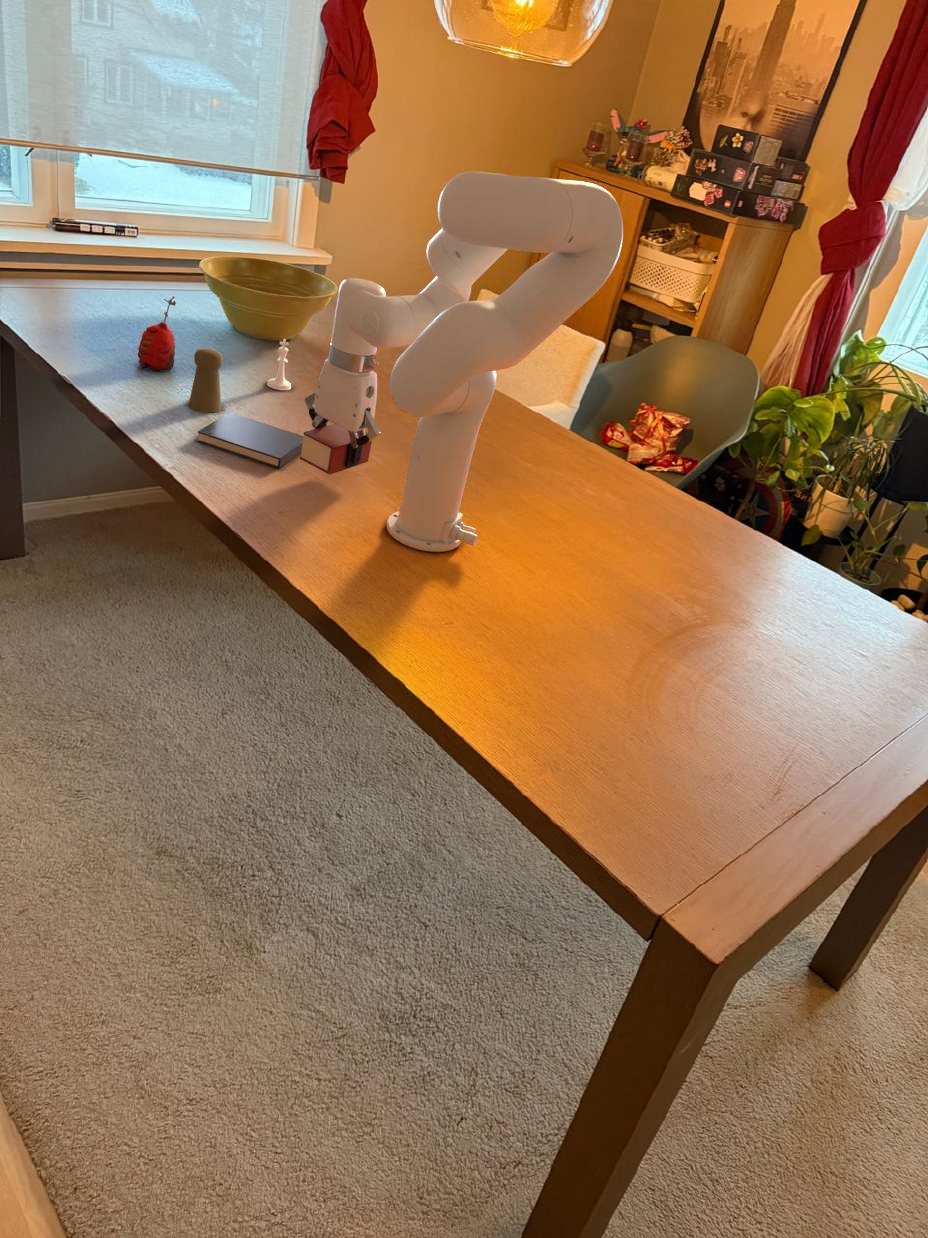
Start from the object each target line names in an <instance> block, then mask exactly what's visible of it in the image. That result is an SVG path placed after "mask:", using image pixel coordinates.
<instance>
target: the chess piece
mask: <svg viewBox="0 0 928 1238" xmlns="http://www.w3.org/2000/svg"><path fill="white" fill-rule="evenodd" d="M279 345H282V346H280V347H278V353H279V357H277V360H276V362H279V365H278V368H277V372H276V376H274V378H269V379H268V380H267V384H266V385H267V386H268V387H269V388H272V389H274V390H277V391H289V390H291V389H292V383H291V382H290V381H288V380H286V378H285V364H286V363H288V359H287V358H286V357H287V355H288V353H289V349H288V347H286V346H289V342H287V340H286V339H283V340H282V341H279Z"/></svg>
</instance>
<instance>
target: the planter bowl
mask: <svg viewBox="0 0 928 1238" xmlns="http://www.w3.org/2000/svg"><path fill="white" fill-rule="evenodd" d="M198 268H199V269H200V271H201V272H202V273H203V275H204V278H205V281H206V284H207V286H208V288H209V290H210V291H211V292H212V293H213V294H214V295H215V296H216V297H217V298H218V299H219V300H218V301H219V304H220V305H221V309H222V310H223V312H224V315H225V316H226V319H227V321H228V322H229V323H230V325H231V326H233V327H234V328H235V329H236V330H237V331H239V332H240V333H241V334H244V335H247V336H250V337H254V338H256V339H262V340H267V341H283V339H286V341H287V340H291V339H293V338H294V337H297V336H299V335H300V334H302V332H303V331H304V330H305V329H306V328H307V326H308V325H309V323H310V322H311V320H312V319H313V317H314V315H316V314H317V313H319V312H322V311H323V310H324V309H326V307H327V306H328V305H329V303H330V301H331V299H332V298H333V296H334V295H337V294H338V292H339V287H338V286H337V284H336V283H335V282H334V281H332V280H331V279H329V278H328V277H326V276H325V275H322V274H320V273H318V272H315V271H313V270H309V269H308V268H304V267H300V266H297V265H294V264H290V263H287V262H282V261H277V260H271V259H267V258H260V257H251V256H241V255H240V256H239V255H220V256H219V255H218V256H212V257H207V258H205V259H202V260H201V261H200V262H199V263H198Z"/></svg>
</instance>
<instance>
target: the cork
mask: <svg viewBox="0 0 928 1238" xmlns="http://www.w3.org/2000/svg"><path fill="white" fill-rule="evenodd" d="M193 361H194V364H195V366H196V367H195V372H194V377H193V382H192V387H191V392H190V396H189V401H188V402H189V403H188V406H189V407H190V408H191V409H193V410H195V411H197V412H201V413H217V412H220V411H221V410H222V396H221V380H220V369H221V368H222V367H223V363H224V358H223V355H222V353H221V352H220V351H219V350H218V349H217V350H216V349H215V348H209V347H201V348H198V349H197V350H195V352H194V354H193Z"/></svg>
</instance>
